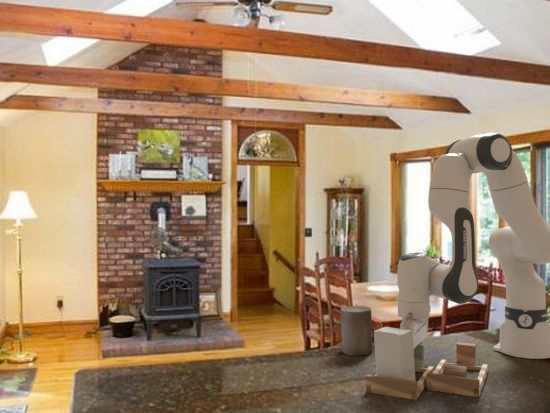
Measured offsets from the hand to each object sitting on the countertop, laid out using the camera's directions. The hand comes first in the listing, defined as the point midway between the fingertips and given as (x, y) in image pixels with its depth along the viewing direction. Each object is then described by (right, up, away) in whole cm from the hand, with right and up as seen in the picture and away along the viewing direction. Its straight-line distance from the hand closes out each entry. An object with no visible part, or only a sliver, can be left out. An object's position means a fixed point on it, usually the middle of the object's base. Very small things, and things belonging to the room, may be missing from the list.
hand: (414, 359), depth 151 cm
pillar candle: (-14, -3, +17) cm, 22 cm away
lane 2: (+10, -2, -10) cm, 14 cm away
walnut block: (+6, -2, -17) cm, 19 cm away
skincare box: (-10, -3, -18) cm, 20 cm away
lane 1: (-6, -2, -11) cm, 13 cm away
